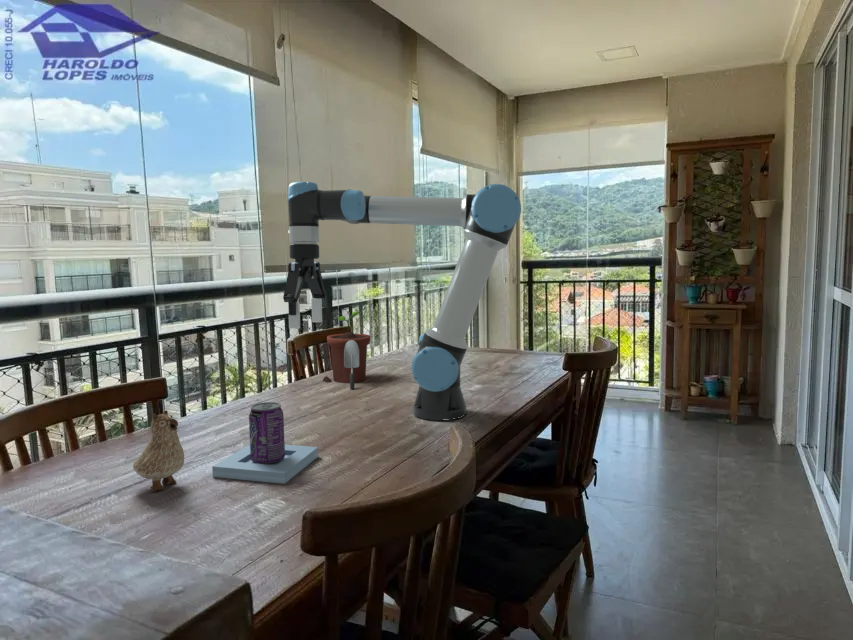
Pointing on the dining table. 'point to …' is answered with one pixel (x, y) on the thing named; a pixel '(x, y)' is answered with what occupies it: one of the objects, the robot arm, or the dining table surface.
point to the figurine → (161, 453)
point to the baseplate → (265, 465)
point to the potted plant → (348, 356)
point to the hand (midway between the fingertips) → (306, 325)
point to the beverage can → (266, 433)
